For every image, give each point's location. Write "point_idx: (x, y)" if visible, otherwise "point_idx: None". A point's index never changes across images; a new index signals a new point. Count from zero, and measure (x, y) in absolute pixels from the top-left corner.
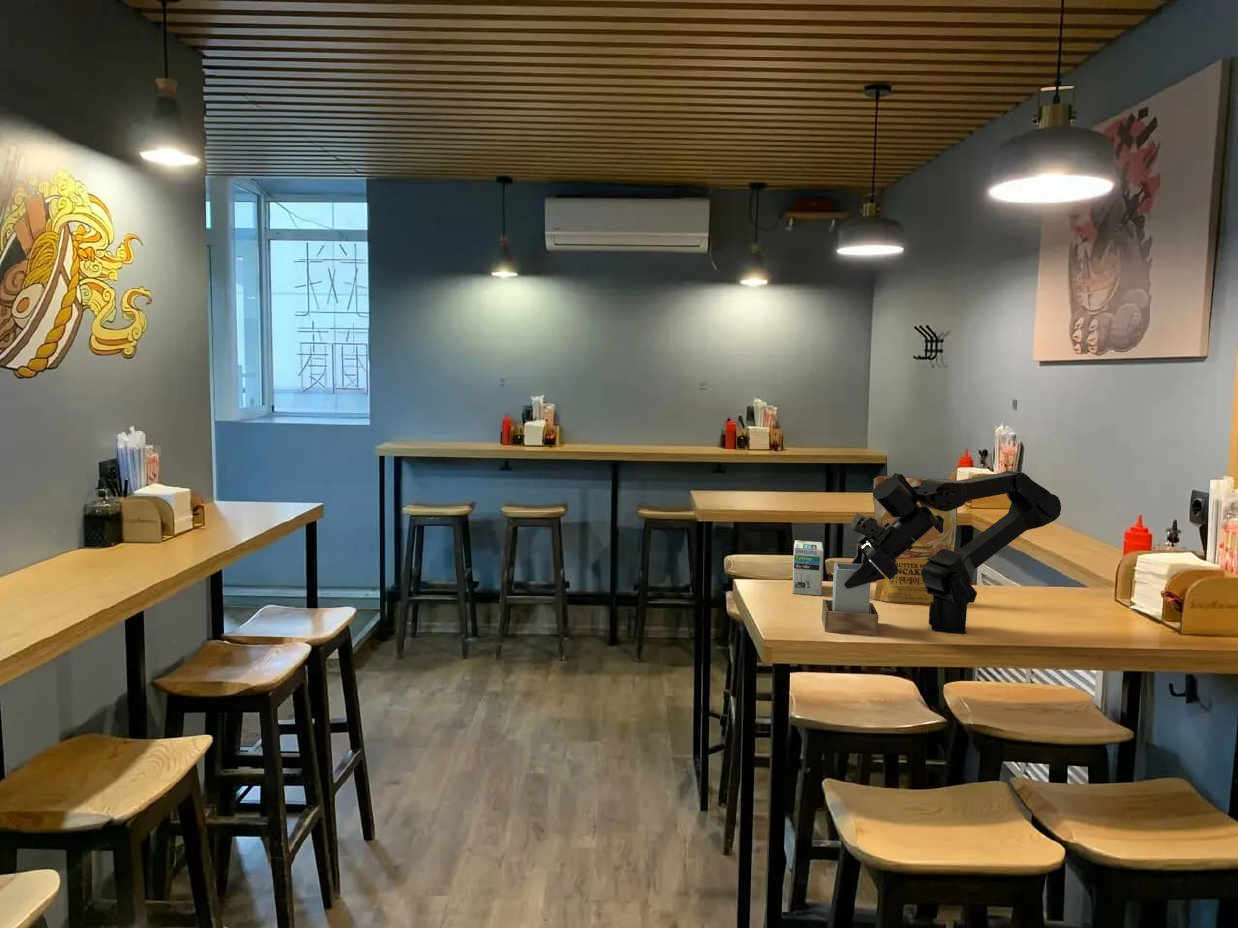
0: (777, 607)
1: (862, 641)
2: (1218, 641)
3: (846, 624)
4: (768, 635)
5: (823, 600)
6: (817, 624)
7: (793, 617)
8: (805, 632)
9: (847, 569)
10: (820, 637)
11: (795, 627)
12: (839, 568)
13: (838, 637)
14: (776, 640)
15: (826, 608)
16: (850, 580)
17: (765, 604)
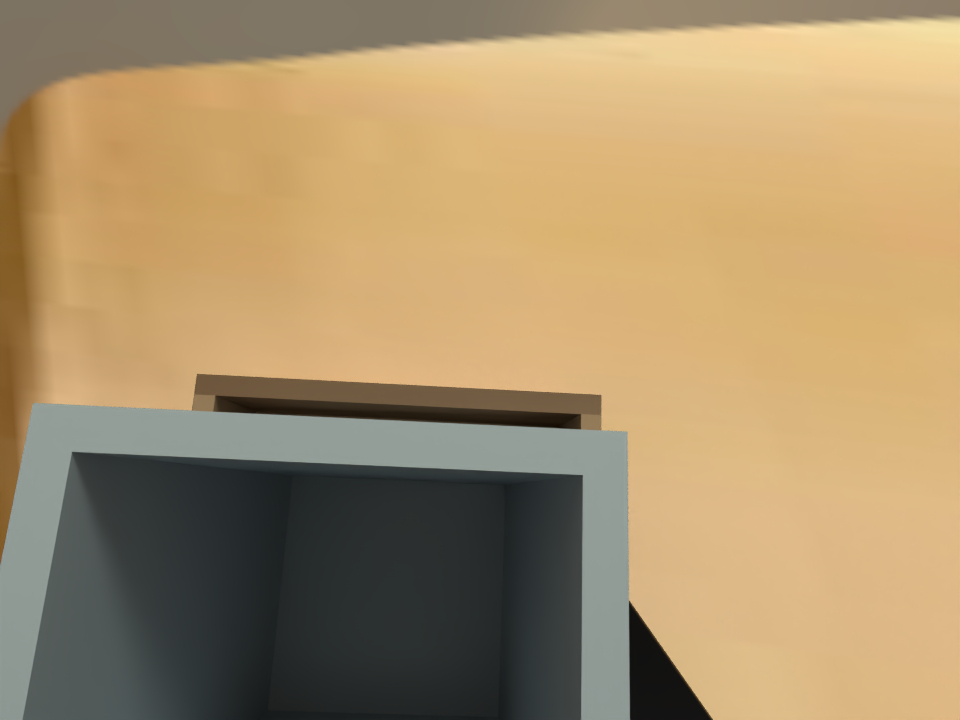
0: (762, 170)
1: None
2: None
3: None
4: (122, 73)
5: (562, 396)
6: (417, 371)
7: (549, 242)
8: (216, 278)
9: (31, 608)
10: (115, 356)
11: (319, 232)
12: (566, 523)
13: None
14: (24, 105)
15: (298, 390)
16: None
17: (810, 109)
